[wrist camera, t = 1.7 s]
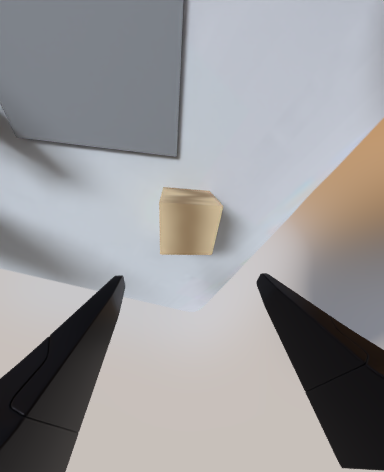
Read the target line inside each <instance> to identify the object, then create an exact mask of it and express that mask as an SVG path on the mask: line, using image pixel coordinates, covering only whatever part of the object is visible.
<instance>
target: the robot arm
mask: <svg viewBox="0 0 384 472" xmlns="http://www.w3.org/2000/svg"><path fill="white" fill-rule="evenodd" d="M257 287H258V289H259V292H260V294H261V297H262V300H263V303H264V305H265V308H266V310H267V312H268V314H269V316H270V318H271V320H272V322H273V325H274V327H275V329H276V331H277V333H278V335H279V337H280V340H281V342H282V344H283V346H284V348H285V350H286V352H287V354H288V356H289V358H290V361H291V363H292V365H293V367H294V369H295V371H296V373H297V375H298V377H299V379H300V382H301V384H302V386H303V388H304V390H305V391H306V395H307V397H308V399H309V400H310V403H311V405H312V407H313V409H314V411H315V413H316V416H317V418H318V420H319V422H320V424H321V426H322V428H323V430H324V433H325V435H326V437H327V439H328V441H329V443H330V445H331V447H332V449H333V452H334V454H335V456H336V458H337V460H338V462H339V464H340V465H341V467H342V468H350V469H367V470H384V350H383V349H381V348H379V347H378V346H376V345H375V344H373V343H371V342H370V341H368V340H367V339H365V338H363V337H361V336H360V335H359V334H357V333H355V332H354V331H352V330H351V329H349V328H348V327H346V326H345V325H343V324H341V323H340V322H338V321H337V320H335V319H334V318H332V317H331V316H329V315H328V314H327V313H325V312H323V311H322V310H321V309H319V308H318V307H316V306H314V305H313V304H312V303H310V302H309V301H307V300H306V299H304V298H303V297H301V296H300V295H298V294H297V293H295V292H294V291H292V290H291V289H290V288H288V287H286V286H285V285H283V284H282V283H280V282H279V281H278V280H276V279H275V278H273V277H272V276H270V275H269V274H266V273H264V274H260V276H259V278H258V280H257ZM124 290H125V282H124V277H123V276H114V277H113V278H112V279H111V280H110V281H109V282H108V283H107V284H106V285H104V286H103V287H102V288H101V289H100V290H99V291H98V292H97V293H96V294H95V295H94V296H92V298H90V299H89V300H88V301H87V302H86V303H85V304H84V305H83V306H81V307H80V308H79V309H78V310H77V311H76V312H75V313H74V314H73V315H72V316H71V317H69V318H68V319H67V320H66V321H65V322H64V323H63V324H62V325H61V326H60V327H59V328H58V329H56V330H55V331H54V332H53V333H52V334H51V335H50V337H48V338H46V339H45V340H44V341H43V342H42V343H41V344H40V345H39V346H38V347H37V348H35V349H34V350H33V351H32V352H31V353H30V354H29V355H28V356H26V357H25V358H24V359H23V360H22V361H21V362H20V363H18V364H17V365H16V366H15V367H14V368H12V369H11V370H10V371H9V372H8V373H7V374H5V375H4V376H3V377H2V378H1V379H0V472H65V471H66V468H67V465H68V462H69V460H70V456H71V454H72V451H73V448H74V445H75V442H76V439H77V436H78V432H79V430H80V427H81V424H82V421H83V418H84V415H85V412H86V410H87V407H88V404H89V401H90V398H91V395H92V392H93V389H94V386H95V383H96V380H97V377H98V375H99V372H100V369H101V366H102V363H103V360H104V357H105V354H106V351H107V348H108V345H109V343H110V340H111V337H112V334H113V331H114V328H115V325H116V322H117V319H118V316H119V312H120V308H121V304H122V299H123V295H124Z"/></svg>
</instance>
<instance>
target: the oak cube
mask: <svg viewBox="0 0 384 472" xmlns="http://www.w3.org/2000/svg"><path fill="white" fill-rule="evenodd" d="M159 210H160V254H162V255H212V252H213V248H214V244H215V240H216V235H217V231H218V227H219V223H220V218H221V214H222V210H223V205H222V204H221V203H220V202H219V201H218V200H217V199H216V198H215V197H214V196H213V194H212V193H211V192H210V191H203V190H191V189H179V188H167V187H163V190H162V194H161V198H160V202H159Z"/></svg>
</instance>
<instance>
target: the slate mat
mask: <svg viewBox="0 0 384 472" xmlns="http://www.w3.org/2000/svg"><path fill="white" fill-rule="evenodd" d="M182 22H183V0H0V103H1V106H2V108H3V110H4V112H5V114H6V116H7V119H8V121H9V123H10V125H11V127H12V129H13V132H14V134H15V136H16V137H18V138H26V139H34V140H43V141H51V142H59V143H67V144H76V145H84V146H92V147H101V148H109V149H117V150H125V151H134V152H142V153H150V154H159V155H167V156H175V157H177V138H178V115H179V92H180V68H181V45H182Z"/></svg>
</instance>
